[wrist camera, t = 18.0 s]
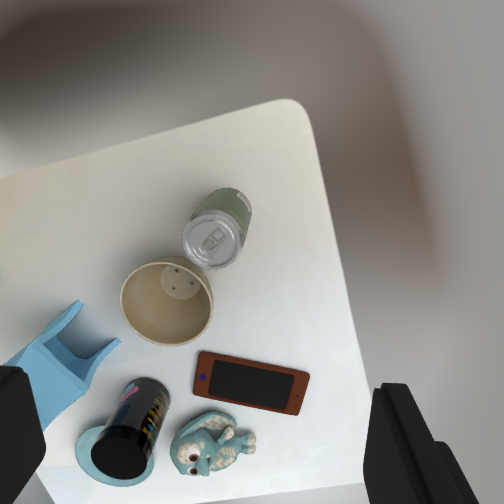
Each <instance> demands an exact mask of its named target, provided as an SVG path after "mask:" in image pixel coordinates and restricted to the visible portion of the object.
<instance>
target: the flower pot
mask: <svg viewBox="0 0 504 504" xmlns="http://www.w3.org/2000/svg"><path fill="white" fill-rule="evenodd" d="M175 270H177V272H176V271H175ZM191 282H193V283H191ZM174 288H175V289H174ZM120 309H121V312H122V315H123V317H124V319H125V321H126V323H127V324H128V326H129V327H130V328H131V329H132V330H133V331H134V332H135V333H136V334H137V335H139V336H140V337H141V338H143V339H145V340H147V341H149V342H151V343H154V344H157V345H162V346H180V345H184V344H187V343H190V342H192V341H194V340H195V339H197V338H198V337H199V336H201V335H202V334H203V333H204V331H205V330H206V329H207V327H208V325H209V323H210V321H211V318H212V312H213V297H212V291H211V287H210V284H209V282H208V279H207V277H206V276H205V274H204V273H203V272H202V270H201V269H200V268H199V267H198V266H197V265H195V264H194V263H192V262H190V261H188V260H186V259H182V258H177V257H166V258H160V259H156V260H153V261H150V262H148V263H145V264H144V265H142V266H140V267H138V268H137V269H136V270H134V271H133V272H132V273H131V274H130V275H129V276H128V277H127V278H126V280H125V281H124V283H123V285H122V288H121V291H120Z"/></svg>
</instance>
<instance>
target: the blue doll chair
mask: <svg viewBox="0 0 504 504" xmlns="http://www.w3.org/2000/svg"><path fill="white" fill-rule="evenodd" d="M82 306H83V304H82V303H81V302H80V301H79V300H78V301H77V302H75V303H74V304H73V305H72V306H70V307H69V308H68V309H67V310H66V311H64V312H63V313H62V314H61V315H59V316H58V317H57V318H56V319H55V320H53V321H52V322H51V323H50V324H49V325H48V326H47V327H46V328H45V330H44V331H43V332H42V334H41V335H40V337H38V338H36V339H35V340H33V341H32V342H31V343H30V344H28V345H27V346H26V347H25V348H23V349H22V350H21V351H20V352H19V353H17V354H16V355H15V356H14V357H13V358H11V359H10V360H9V361H8V362H6V363H5V364H4V365H3V366H19V367H21V368H22V369H23V371H24V372H26V373H27V374H28V376H29V380H30V384H31V388H32V392H33V396H34V400H35V404H36V408H37V412H38V416H39V420H40V424H41V428H42V431H44V430H45V429H46V427H47V426H48V425H49V424H50V423H51V422H52V421H53V420H54V419H55V418H56V417H57V416H58V415H59V414H60V413H61V412H62V411H63V410H65V409H66V408H67V407H68V406H69V405H71V404H72V403H73V402H75V401H76V400H77V399H79V398H80V397H81V396H83V395H84V394H85V393H86V391H87V390H88V388H89V386H90V383H91V380H92V377H93V375H94V372H95V370H96V368H97V367H98V365H99V363H100V362H101V361H102V359H103V358H104V357H105V356H106V355H107V354H108V353H109V352H110V351H111V350H112V349H113V348H114V347H116V346H117V345H118V344H119V343H120V342H121V341H120V340H119V339H118V338H116V339H115V340H113V341H112V342H111V343H109V344H108V345H107V346H105V347H104V348H103V349H101V350H100V351H99V352H97V353H96V354H95V355H93V356H92V357H90V358H89V359H82V358H78V357H77V356H75V355H74V354H73V353H72V352H71V351H70V350H68V349H67V348H66V347H65V346H64V345H63V344H62V343H61V342H60V341H59V339H58V338H57V335H56V334H57V333H59V332H60V331H61V330H62V329H63V328H64V327H65V326H66V325H67V324H68V323H69V322H70V321H71V320H72V318H73V317H74V316H75V315H76V314H77V312H78V311H79V310H80V308H81V307H82Z"/></svg>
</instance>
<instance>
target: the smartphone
mask: <svg viewBox="0 0 504 504" xmlns="http://www.w3.org/2000/svg"><path fill="white" fill-rule="evenodd" d="M309 379H310V374H309V373H306V372H301V371H297V370H293V369H288V368H283V367H278V366H273V365H268V364H263V363H258V362H253V361H248V360H244V359H239V358H234V357H229V356H224V355H219V354H214V353H208V352H200V353H199V357H198V363H197V369H196V375H195V381H194V387H193V394H194V395H196V396H200V397H204V398H209V399H214V400H219V401H224V402H228V403H233V404H238V405H243V406H248V407H253V408H258V409H263V410H268V411H273V412H278V413H283V414H289V415H295V416H297V415H298V414H299V412H300V409H301V405H302V402H303V399H304V396H305V392H306V389H307V386H308V383H309Z"/></svg>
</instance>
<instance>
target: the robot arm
mask: <svg viewBox="0 0 504 504" xmlns="http://www.w3.org/2000/svg"><path fill="white" fill-rule="evenodd" d="M45 452H46V443H45V439H44V435H43V431H42V428H41V424H40V420H39V416H38V412H37V408H36V404H35V400H34V396H33V392H32V388H31V384H30V380H29V376H28V374H27V373H26V372H24V371H23V369H22V368H21V367H19V366H0V504H12V503H13V502H14V501H15V499H16V498H17V497H18V495H19V494H20V492H21V491H22V489H23V488H24V486H25V485H26V483H27V482H28V481H29V479H30V478H31V476H32V475H33V473H34V472H35V470H36V469H37V468H38V466H39V465H40V463H41V462H42V460H43V458H44V456H45ZM363 475H364V481H365V485H366V489H367V494H368V497H369V502H370V504H479V502H478V500H477V499H476V497H475V495H474V493H473V491H472V489H471V487H470V485H469V483H468V481H467V479H466V478H465V476H464V474H463V472H462V470H461V468H460V466H459V464H458V462H457V461H456V459H455V457H454V455H453V453H452V451H451V449H450V448H449V446H448V445H447V444H446V443H445V442H440V441H434V439H433V437H432V435H431V433H430V431H429V429H428V427H427V425H426V423H425V421H424V419H423V417H422V415H421V412H420V410H419V408H418V406H417V404H416V402H415V400H414V398H413V396H412V394H411V392H410V390H409V388H408V386H407V385H406V384H400V383H382V385H381V388H380V389H379V388H375V389H374V392H373V399H372V406H371V413H370V420H369V427H368V434H367V441H366V448H365V455H364V462H363Z"/></svg>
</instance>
